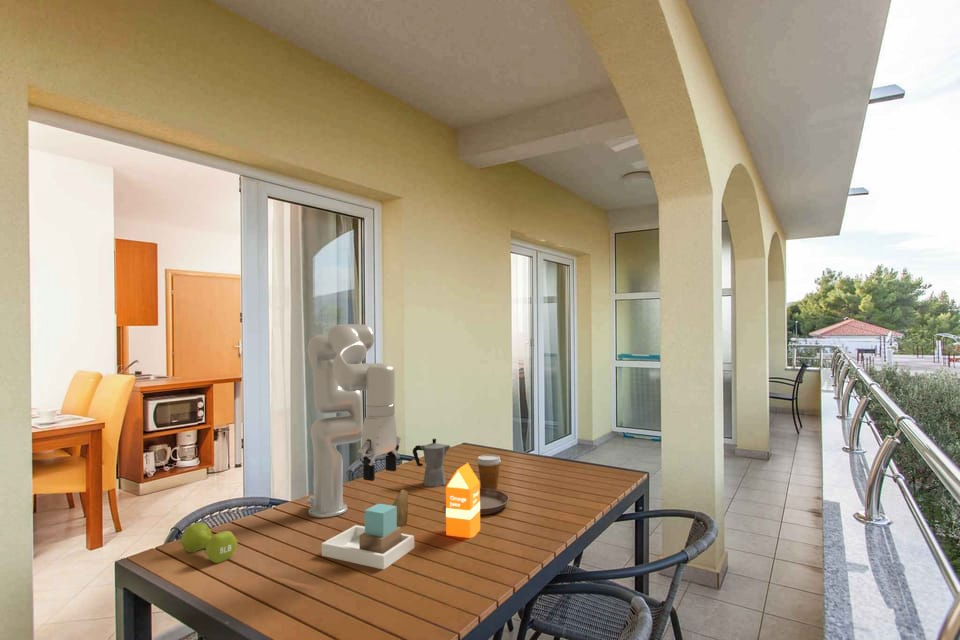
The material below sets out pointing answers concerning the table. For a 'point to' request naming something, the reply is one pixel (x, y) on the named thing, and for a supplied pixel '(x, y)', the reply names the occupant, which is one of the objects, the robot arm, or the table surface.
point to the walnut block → (380, 541)
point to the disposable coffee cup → (489, 471)
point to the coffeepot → (433, 463)
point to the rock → (402, 508)
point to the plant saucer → (492, 501)
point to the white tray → (349, 550)
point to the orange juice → (463, 503)
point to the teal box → (380, 519)
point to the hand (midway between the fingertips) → (380, 475)
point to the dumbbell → (209, 542)
